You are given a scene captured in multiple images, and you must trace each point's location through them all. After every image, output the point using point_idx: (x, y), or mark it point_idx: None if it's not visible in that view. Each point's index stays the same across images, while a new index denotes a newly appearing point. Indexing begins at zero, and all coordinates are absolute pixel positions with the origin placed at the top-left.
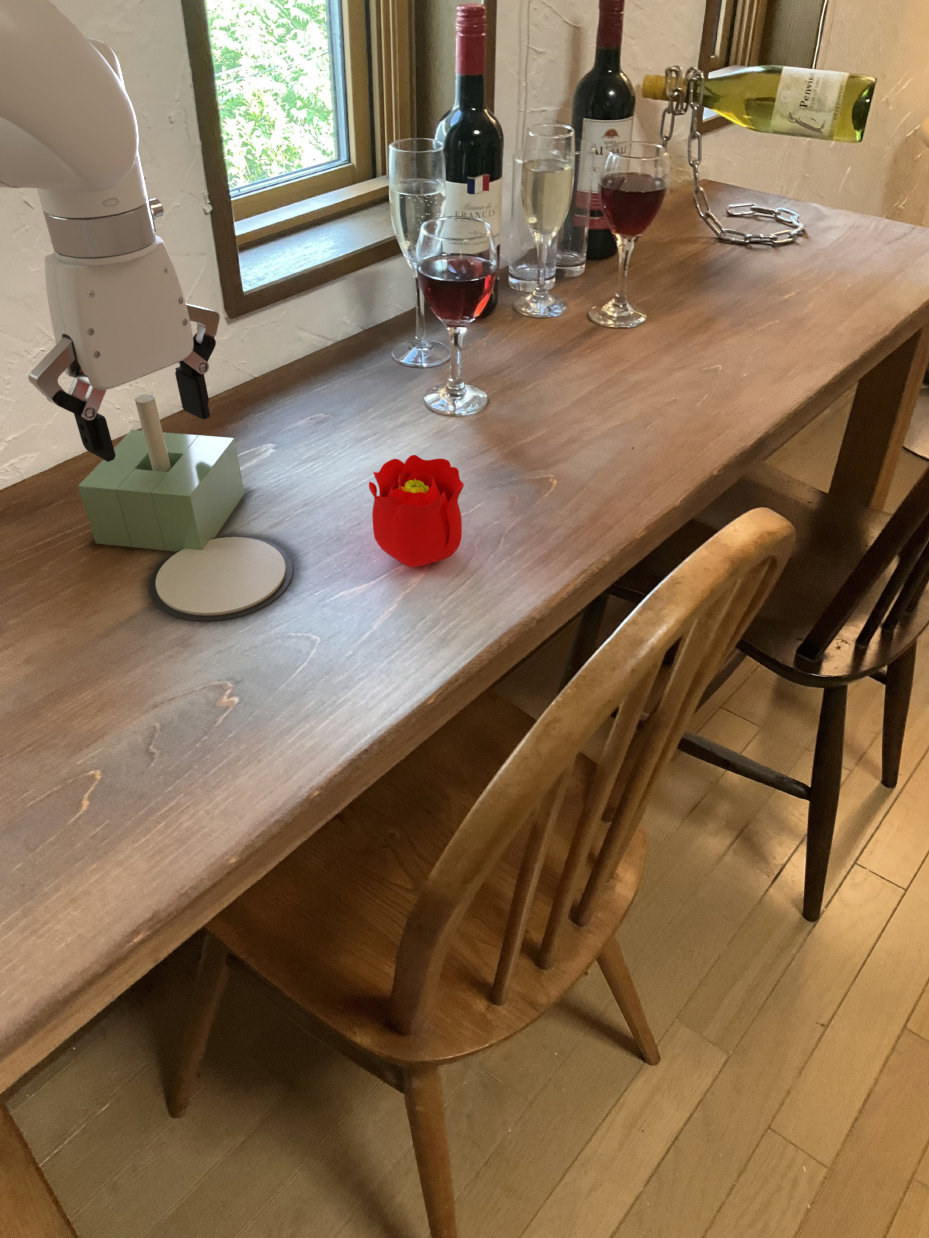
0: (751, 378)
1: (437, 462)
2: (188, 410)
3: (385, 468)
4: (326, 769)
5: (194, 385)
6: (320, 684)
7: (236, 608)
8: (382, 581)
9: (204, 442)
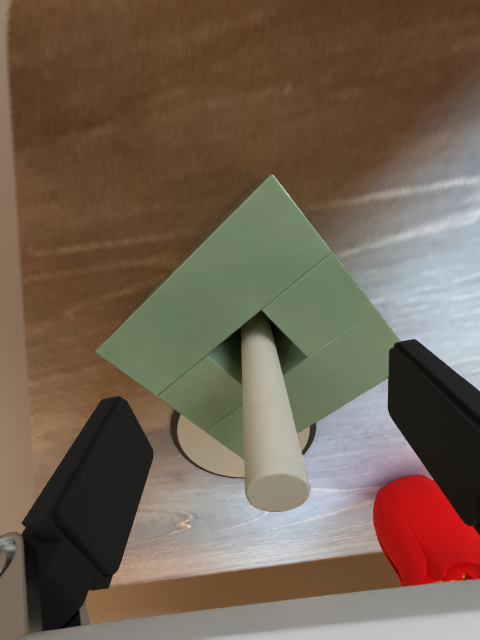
0: None
1: None
2: (392, 371)
3: (465, 558)
4: (210, 571)
5: (453, 497)
6: (242, 537)
7: (230, 476)
8: (349, 492)
9: (364, 343)
